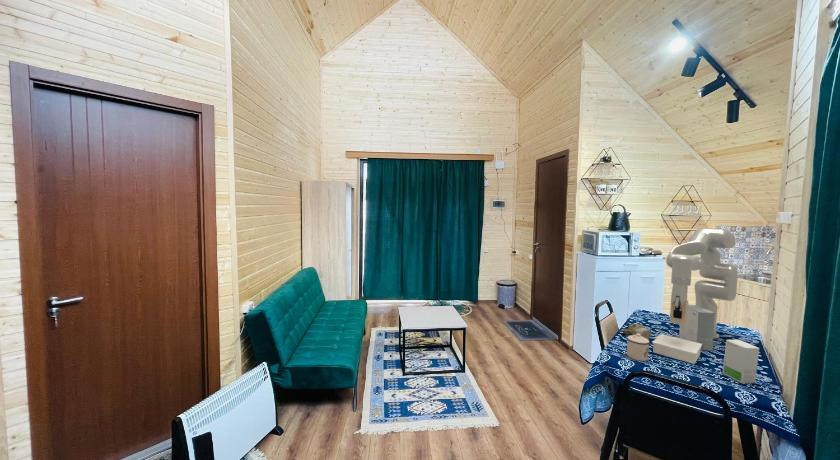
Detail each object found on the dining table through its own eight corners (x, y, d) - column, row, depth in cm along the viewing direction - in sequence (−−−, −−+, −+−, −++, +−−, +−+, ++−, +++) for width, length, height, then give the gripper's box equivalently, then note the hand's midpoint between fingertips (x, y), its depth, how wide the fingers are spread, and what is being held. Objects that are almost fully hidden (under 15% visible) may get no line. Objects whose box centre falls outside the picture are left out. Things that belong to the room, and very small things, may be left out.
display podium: (660, 343, 172) (661, 333, 171) (701, 354, 159) (702, 343, 159) (651, 352, 161) (652, 342, 160) (695, 364, 148) (696, 353, 148)
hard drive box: (713, 351, 162) (715, 313, 161) (696, 350, 164) (698, 312, 162) (693, 339, 177) (695, 304, 176) (678, 338, 179) (680, 303, 178)
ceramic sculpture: (643, 327, 172) (618, 319, 186) (643, 343, 172) (618, 334, 186) (657, 325, 175) (631, 318, 189) (657, 340, 175) (631, 332, 189)
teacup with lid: (648, 363, 149) (650, 339, 148) (625, 358, 154) (627, 334, 153) (648, 353, 159) (649, 331, 158) (626, 349, 164) (627, 327, 163)
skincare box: (722, 373, 140) (724, 339, 139) (735, 373, 140) (738, 339, 139) (742, 384, 131) (745, 347, 130) (757, 383, 132) (760, 347, 131)
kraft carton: (672, 319, 163) (673, 297, 162) (687, 322, 158) (688, 300, 157) (669, 321, 159) (671, 299, 159) (684, 325, 155) (686, 302, 154)
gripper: (675, 277, 166) (673, 311, 167) (667, 282, 155) (665, 318, 156) (693, 280, 160) (691, 315, 161) (687, 284, 149) (684, 322, 150)
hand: (678, 316), depth 159 cm, fingers closed on kraft carton, 5 cm apart
